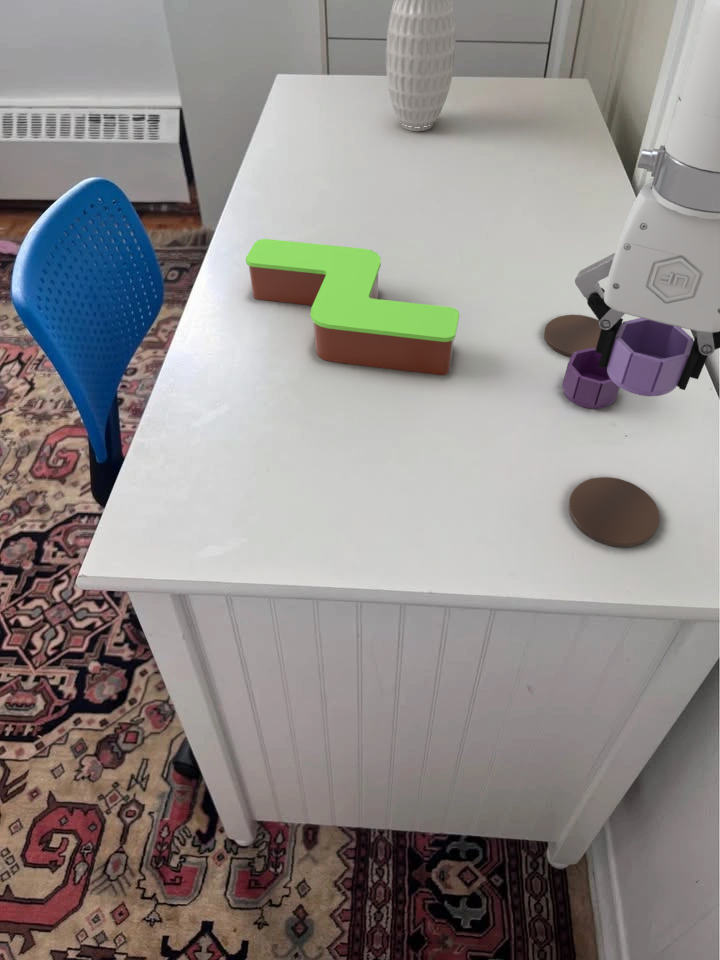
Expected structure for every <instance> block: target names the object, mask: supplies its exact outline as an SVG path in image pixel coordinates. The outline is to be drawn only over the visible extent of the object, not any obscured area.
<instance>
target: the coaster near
mask: <svg viewBox="0 0 720 960" xmlns="http://www.w3.org/2000/svg"><path fill="white" fill-rule="evenodd" d="M568 513H569V516H570V518H571V521H572V522H573V524H574V525H575V527H576V528H578V530H579V531H581V532H582V534H584V535H585V536H587V537H588V538H590V539H591V540H594V541H595V542H598V543H600V544H603V545H605V546H610V547H615V548H631V547H636V546H639V545H642V544H644V543H646V542H648V541H649V540H650V539H651V538H652V537H653V536H654V535H655V534H656V532H657V530H658V529H659V528H658V527H659V525H660V512H659V509H658V506H657V504H656V502H655V501H654V499H653V498H652V497H651V496H650V495H649V493H647V492H646V491H645V490H643V489H642V488H641V487H640V486H637V485H636V484H634V483H632V482H631V481H627V480H624V479H621V478H616V477H609V476H608V477H607V476H600V477H593V478H590V479H587V480H585V481H583V482H581V483H579V484H578V485H577V486H576V487H575V488H574V489H573V491H572V492H571V494H570V497H569V500H568Z"/></svg>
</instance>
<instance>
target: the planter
mask: <svg viewBox="0 0 720 960" xmlns="http://www.w3.org/2000/svg"><path fill="white" fill-rule="evenodd" d="M381 261H382V260H381V256H380V255H379V253H378V252H376V251H373V250H372V249H368V248H361V247H350V246H340V245H331V244H321V243H320V244H319V243H311V242H300V241H291V240H290V241H289V240H279V239H271V238H261V239H258V240H256V241H255V242H254V243H253V245H252V246H251V248H250V250H249V252H248V253H247V254H246V257H245V262H246V265H247V266H248V268H249V276H250V283H251V291H252V297H253V298H254V299H255V300H260V301H269V302H270V301H271V302H278V303H287V304H297V305H306V306H311V308H310V319H311V320H312V323H313V331H314V334H313V335H314V347H315V349H314V350H315V353H316V355H317V357H318V358H320V359H322V360H323V361H327V362H330V363H337V364H346V365H354V366H364V367H371V368H377V369H378V368H379V369H386V370H387V369H388V370H393V371H394V370H395V371H396V370H397V371H404V372H412V373H420V374H428V375H435V376H445V375H448V374H449V373H450V369H451V365H452V364H451V363H452V359H453V354H454V344H455V338H456V334H457V330H458V324H459V319H460V311H459V310H458V309H457V308H455V307H452V306H444V305H434V304H425V303H416V302H408V301H407V302H406V301H400V300H399V301H398V300H388V299H380V298H379V272H380V269H381V263H382V262H381Z"/></svg>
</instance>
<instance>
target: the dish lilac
mask: <svg viewBox="0 0 720 960" xmlns="http://www.w3.org/2000/svg"><path fill="white" fill-rule="evenodd" d="M693 343H694V338H693V337H692V336H691V335H689V333H688V332H686V331H685V330H684V328H681V327H677V326H672V325H668V324H664V323H660V322H656V321H652V320H648V319H644V318H640V317H637V318H634V319H629V320H625V321H624V320H623V321H622V323H621V326H620V328H619V330H618V332H617V335H616V337H615V340H614V344H613V347H612V350H611V354H610V357H609V361H608V364H607V373H608V375H609V377H610V379H611V380H612V381H613V382H614V383H615V384H616V385H617V386H618V387H620V390H621V389H622V390H623V391H626V392H628V393H630V394H634V395H637V396H642V397H660V396H665V395H667V394H669V393H671V392H673V391H674V390H675V389H676V388H678V387H677V386H678V383H679V381H680V378H681V376H682V373H683V370H684V368H685V365H686V363H687V360H688V358H689V355H690V352H691V349H692V346H693Z"/></svg>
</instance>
